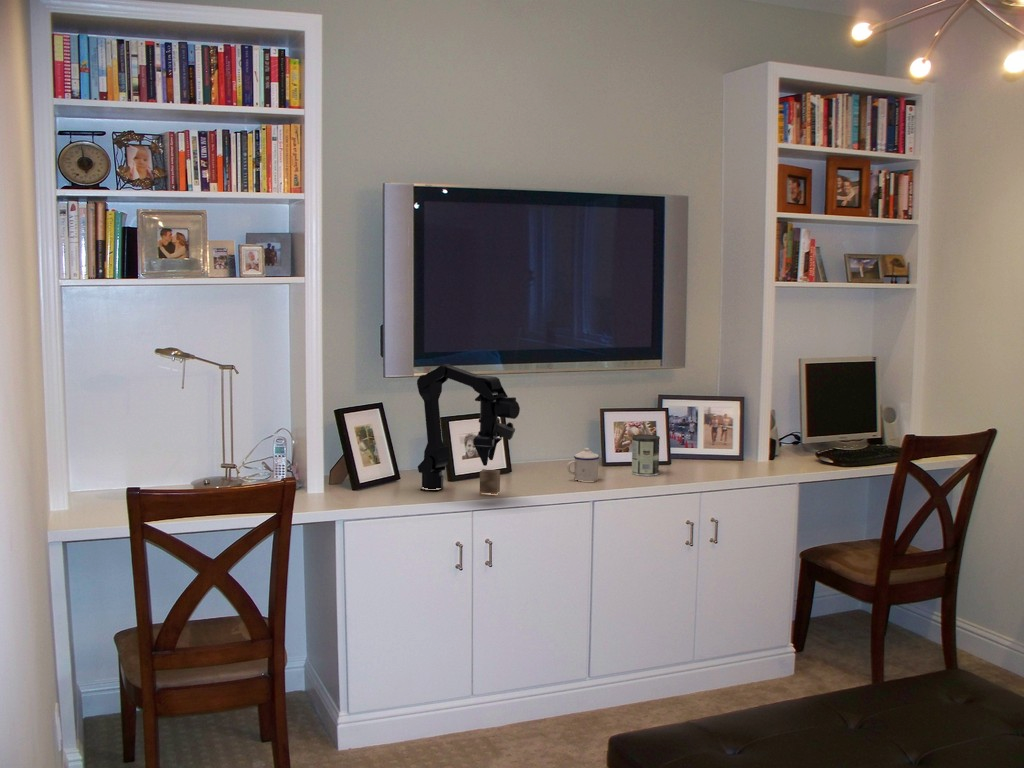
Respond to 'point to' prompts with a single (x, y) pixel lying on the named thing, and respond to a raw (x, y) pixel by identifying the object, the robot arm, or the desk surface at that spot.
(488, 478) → the tall walnut block
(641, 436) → the coffee can
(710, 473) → the desk surface
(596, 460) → the teacup with lid
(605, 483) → the desk surface
